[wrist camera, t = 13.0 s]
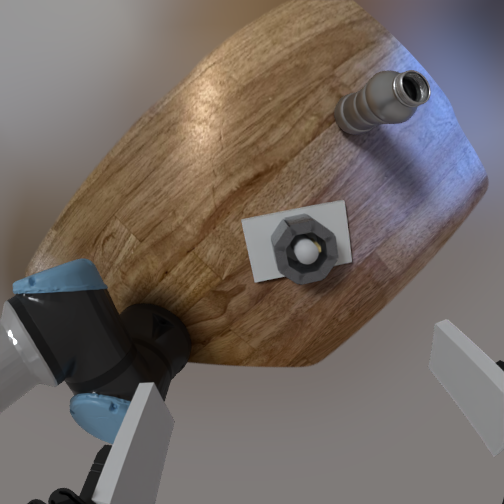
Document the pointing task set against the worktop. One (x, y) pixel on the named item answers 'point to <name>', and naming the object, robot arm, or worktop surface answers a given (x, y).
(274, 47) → the worktop surface
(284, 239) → the ring
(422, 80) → the plastic bottle
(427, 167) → the worktop surface
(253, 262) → the shaft stand
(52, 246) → the worktop surface
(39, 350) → the robot arm
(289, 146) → the worktop surface
